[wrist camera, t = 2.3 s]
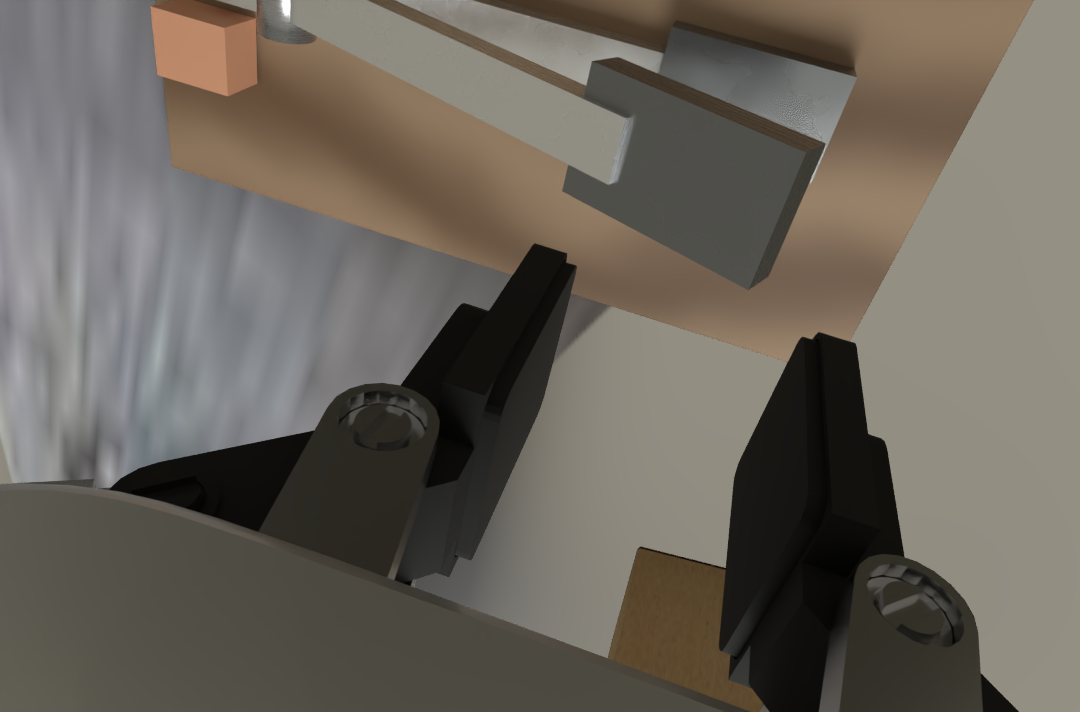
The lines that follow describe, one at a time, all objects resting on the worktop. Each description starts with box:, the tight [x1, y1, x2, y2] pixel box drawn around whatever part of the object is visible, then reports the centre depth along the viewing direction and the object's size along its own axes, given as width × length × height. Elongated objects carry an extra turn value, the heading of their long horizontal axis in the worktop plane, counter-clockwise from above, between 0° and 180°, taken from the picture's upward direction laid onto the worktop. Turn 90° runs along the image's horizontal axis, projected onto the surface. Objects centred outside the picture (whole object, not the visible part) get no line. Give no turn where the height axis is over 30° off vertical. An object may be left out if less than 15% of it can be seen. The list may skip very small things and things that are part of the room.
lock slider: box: [151, 0, 257, 96], centre depth 29 cm, size 3×2×2 cm
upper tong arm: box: [256, 0, 826, 290], centre depth 22 cm, size 20×4×2 cm, turn 78°
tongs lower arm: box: [217, 0, 857, 183], centre depth 26 cm, size 23×4×1 cm, turn 78°
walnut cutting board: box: [156, 0, 1034, 362], centre depth 28 cm, size 19×30×2 cm, turn 78°
